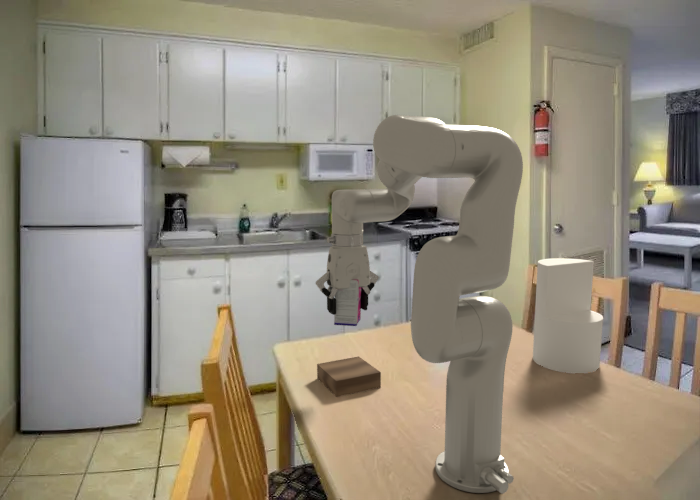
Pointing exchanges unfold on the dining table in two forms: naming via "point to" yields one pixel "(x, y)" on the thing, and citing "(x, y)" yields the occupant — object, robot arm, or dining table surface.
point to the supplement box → (348, 305)
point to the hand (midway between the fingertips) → (347, 310)
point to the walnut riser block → (348, 376)
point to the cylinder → (566, 317)
